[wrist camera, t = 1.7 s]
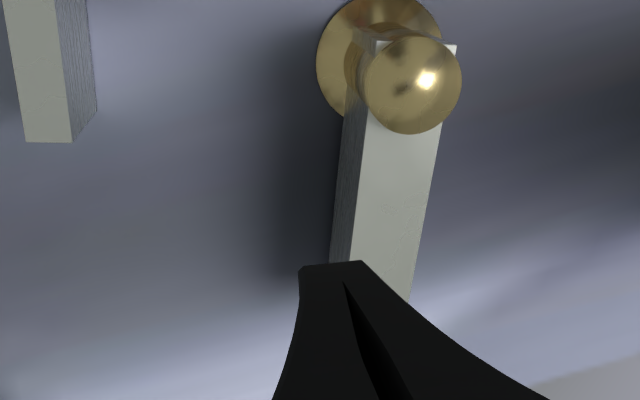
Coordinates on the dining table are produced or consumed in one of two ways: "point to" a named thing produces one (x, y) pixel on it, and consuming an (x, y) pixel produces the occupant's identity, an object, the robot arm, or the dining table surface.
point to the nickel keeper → (51, 67)
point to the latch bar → (390, 146)
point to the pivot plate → (366, 9)
